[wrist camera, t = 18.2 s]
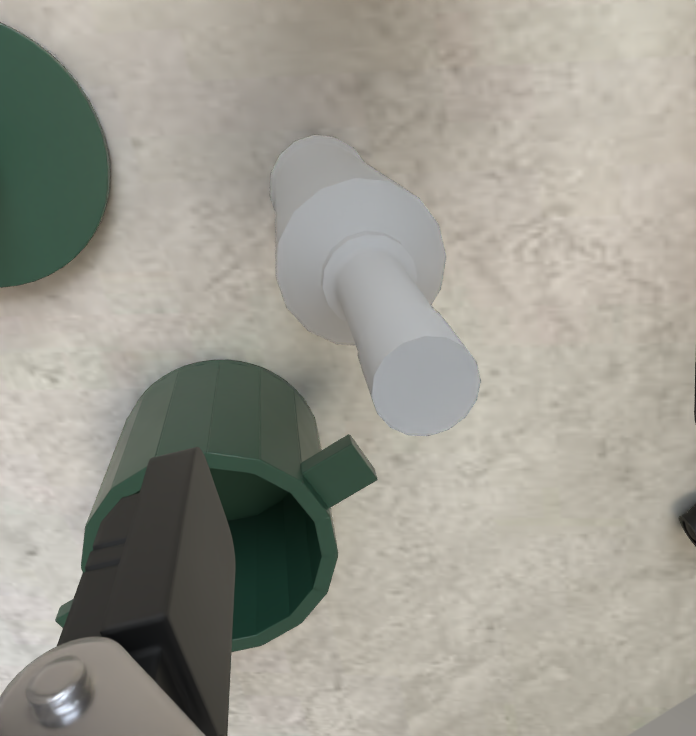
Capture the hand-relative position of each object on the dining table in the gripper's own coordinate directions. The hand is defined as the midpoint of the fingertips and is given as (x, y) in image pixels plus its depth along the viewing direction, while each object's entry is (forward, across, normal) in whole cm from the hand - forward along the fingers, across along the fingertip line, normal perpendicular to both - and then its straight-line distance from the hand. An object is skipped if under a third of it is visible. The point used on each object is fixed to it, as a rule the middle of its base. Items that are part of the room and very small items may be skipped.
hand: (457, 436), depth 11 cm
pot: (+27, +9, +14) cm, 32 cm away
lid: (+26, +16, -5) cm, 31 cm away
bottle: (+27, 0, 0) cm, 27 cm away
